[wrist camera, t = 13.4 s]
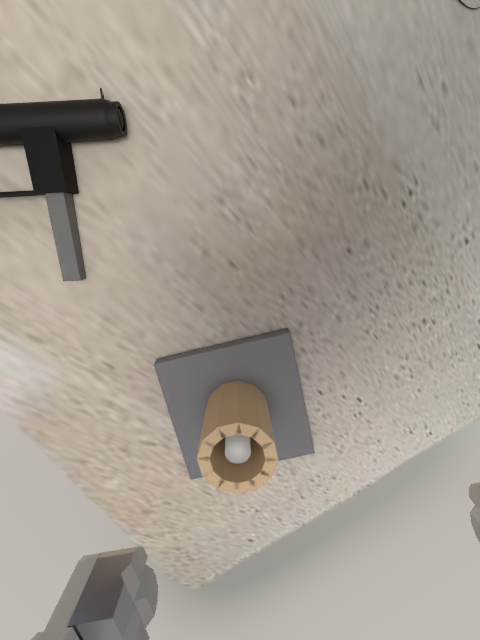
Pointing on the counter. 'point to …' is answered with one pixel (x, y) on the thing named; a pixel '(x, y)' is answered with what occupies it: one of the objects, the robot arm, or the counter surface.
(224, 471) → the paper roll
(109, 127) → the black two-tone tubular device
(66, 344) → the counter surface
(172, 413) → the roll holder
